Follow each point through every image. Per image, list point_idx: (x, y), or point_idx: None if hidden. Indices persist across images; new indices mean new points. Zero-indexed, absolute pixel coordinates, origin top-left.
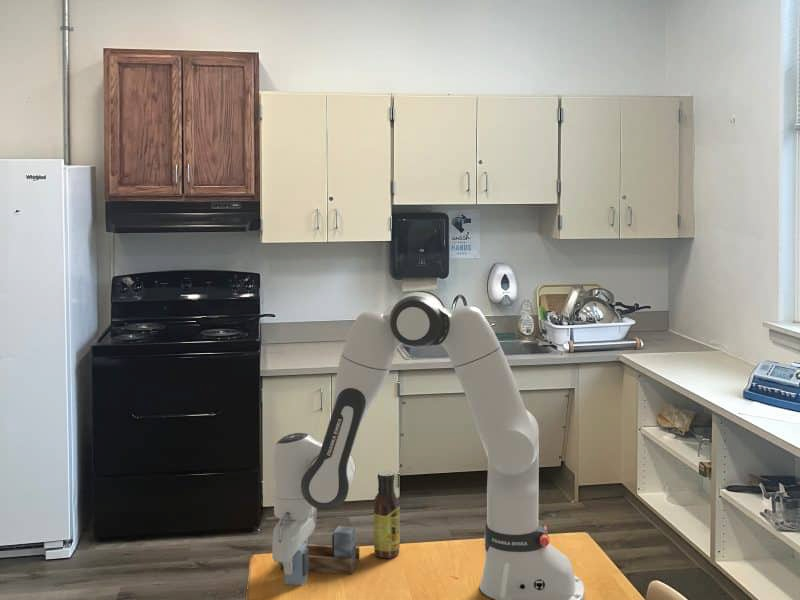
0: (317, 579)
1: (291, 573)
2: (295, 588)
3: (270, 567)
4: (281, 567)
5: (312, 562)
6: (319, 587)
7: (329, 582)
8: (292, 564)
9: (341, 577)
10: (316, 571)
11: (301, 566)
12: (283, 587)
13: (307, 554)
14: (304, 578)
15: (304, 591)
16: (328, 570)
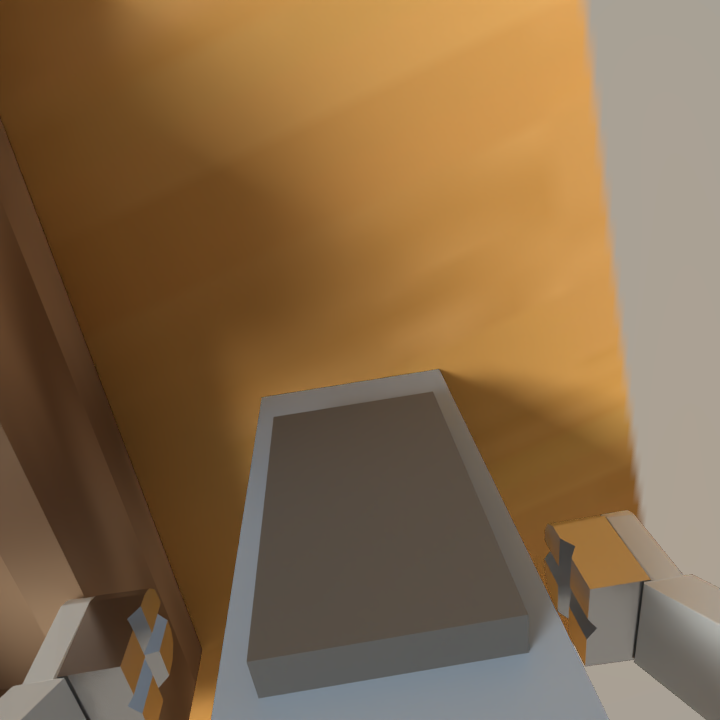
0: (263, 285)
1: (631, 515)
2: (519, 393)
3: (203, 712)
4: (197, 658)
5: (72, 472)
6: (447, 174)
7: (286, 112)
8: (677, 599)
9: (83, 9)
10: (97, 377)
11: (499, 493)
12: (519, 488)
13: (330, 579)
14: (364, 397)
15: (569, 286)
16: (35, 249)
